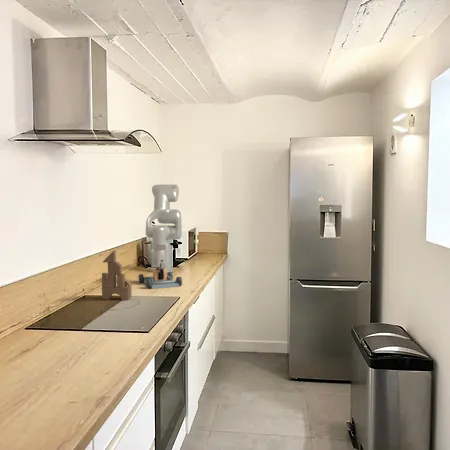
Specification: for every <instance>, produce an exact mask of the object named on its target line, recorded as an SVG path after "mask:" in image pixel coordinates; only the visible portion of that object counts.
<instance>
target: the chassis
mask: <svg viewBox="0 0 450 450" xmlns="http://www.w3.org/2000/svg"><path fill="white" fill-rule="evenodd" d="M173 278H174V274H173V272H168V273H167V280H160V281H155V280H154V279H153V275H152V276H144V274H143V273H140V274H138V282H139V283H143V284H145V286H146V289H151V290H154V289H165V288H177V287H180V286H182V285H183V278H182V276H176V279H175V280H173Z"/></svg>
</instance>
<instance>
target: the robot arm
mask: <svg viewBox="0 0 450 450" xmlns="http://www.w3.org/2000/svg"><path fill="white" fill-rule="evenodd" d="M151 192H152V195H153V198H154V201H153V202H154V203H153V204H154V205H153V211H151V213H150V214H149V215H148V217H147V218H146V221H145V222H146V223H145V235H146V237H147V238H149V239H152V251H153V253H152V254H153V255H152V258H153V259H152V260H153V261H152V265H153V267H155V269H159V272H158V279H164V269H166V270H167V273H168V272H172V273H174V271H175V270H174V269H172V245H171V243H170V242H169V240H170V241H171V240H172V241H173V240H181V238H182V235H183V233H182V213H181V211H180V210H179V209H171V206H170V205H171V203H175V202H177V201H178V198H179V193H180V190H179V186H178V184H162V183H161V184H154V185H153V186H152V187H151ZM156 219H157V222H158V223H159V224H162V225H152V222H153V221H155V220H156ZM163 224H165V225H163ZM167 224H168V225H167Z"/></svg>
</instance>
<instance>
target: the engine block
mask: <svg viewBox="0 0 450 450" xmlns="http://www.w3.org/2000/svg"><path fill="white" fill-rule="evenodd" d="M158 272H159V269H156V268H154V269H152V276H153V279H154V280H155V281H160V280H167V270H166V269H164V279H158Z"/></svg>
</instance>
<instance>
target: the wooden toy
mask: <svg viewBox="0 0 450 450" xmlns="http://www.w3.org/2000/svg"><path fill="white" fill-rule="evenodd" d="M116 253H117V252H116V250H113V251H112V252H111V253H110V254H109V255H108V256H107V257H106V258H105V259H104V260H103V261H102V263H107V272H102V273H101V300H102V299H106V301H107V300H108V301H109V300H111V299H112V296H113V295H118V296H119V298H120V299H121V300H122V301H129V300H130V299H132V292H133V291H132V283H131V282H130V281H129V279H127V278H126V274H125V273H123V265H122V264H121V263H120V261H117V259H116V258H117V254H116Z"/></svg>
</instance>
